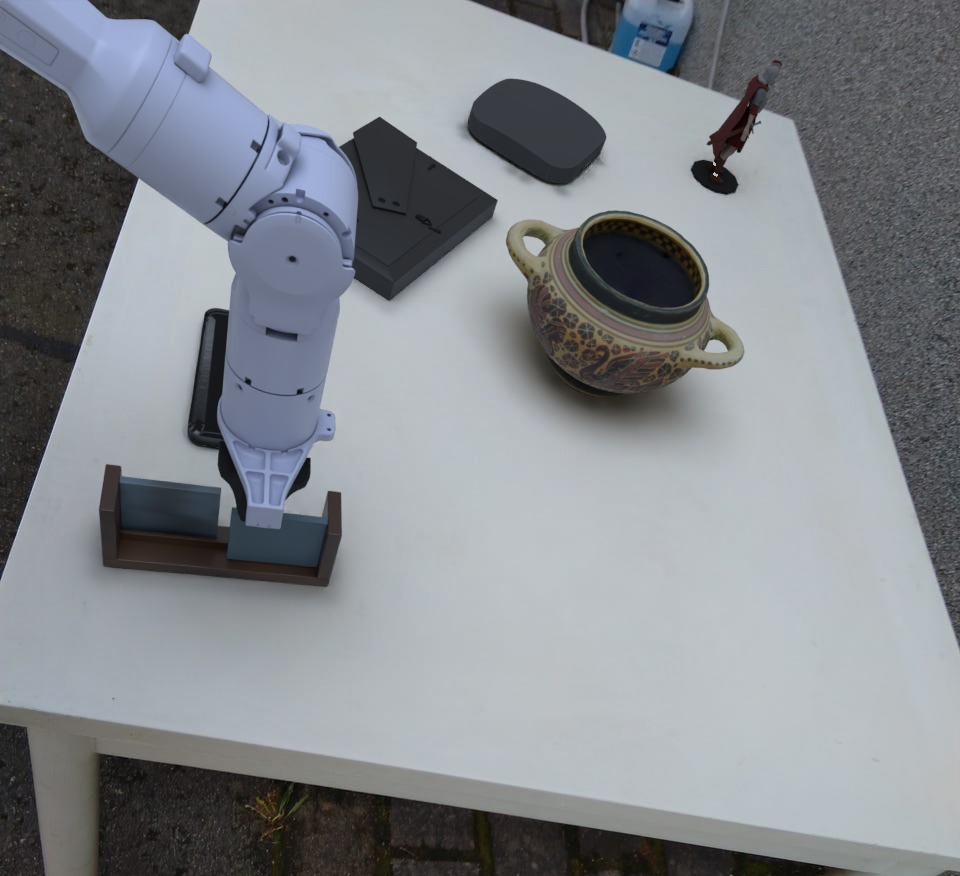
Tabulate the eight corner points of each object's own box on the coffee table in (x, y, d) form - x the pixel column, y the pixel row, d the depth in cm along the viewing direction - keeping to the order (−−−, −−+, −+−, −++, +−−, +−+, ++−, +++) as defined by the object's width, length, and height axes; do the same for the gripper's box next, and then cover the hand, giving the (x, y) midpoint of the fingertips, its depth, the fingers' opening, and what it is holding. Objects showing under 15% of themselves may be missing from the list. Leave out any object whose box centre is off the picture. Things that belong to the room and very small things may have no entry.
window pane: (317, 558, 71) (334, 486, 64) (316, 571, 70) (334, 500, 63) (227, 549, 69) (235, 474, 62) (226, 562, 68) (234, 489, 61)
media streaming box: (454, 129, 109) (461, 104, 106) (511, 89, 117) (518, 65, 115) (559, 195, 108) (569, 171, 105) (609, 149, 116) (618, 126, 114)
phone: (186, 433, 73) (205, 305, 81) (186, 443, 74) (205, 315, 82) (288, 449, 75) (297, 323, 83) (286, 459, 76) (295, 332, 84)
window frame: (327, 544, 73) (341, 491, 68) (328, 586, 71) (342, 535, 66) (109, 522, 68) (105, 463, 63) (103, 566, 66) (98, 509, 61)
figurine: (738, 201, 119) (805, 84, 107) (686, 182, 118) (748, 62, 106) (736, 172, 123) (800, 56, 111) (685, 153, 122) (745, 34, 109)
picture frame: (374, 141, 103) (256, 213, 91) (379, 116, 100) (259, 187, 88) (492, 217, 102) (389, 300, 90) (500, 193, 100) (395, 276, 87)
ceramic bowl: (448, 351, 93) (471, 242, 79) (539, 242, 99) (575, 123, 85) (655, 486, 91) (716, 400, 77) (734, 366, 98) (803, 266, 84)
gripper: (349, 465, 50) (314, 601, 62) (345, 287, 58) (315, 437, 69) (214, 448, 48) (203, 591, 59) (228, 265, 56) (216, 423, 67)
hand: (256, 508), depth 64 cm, fingers closed on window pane
